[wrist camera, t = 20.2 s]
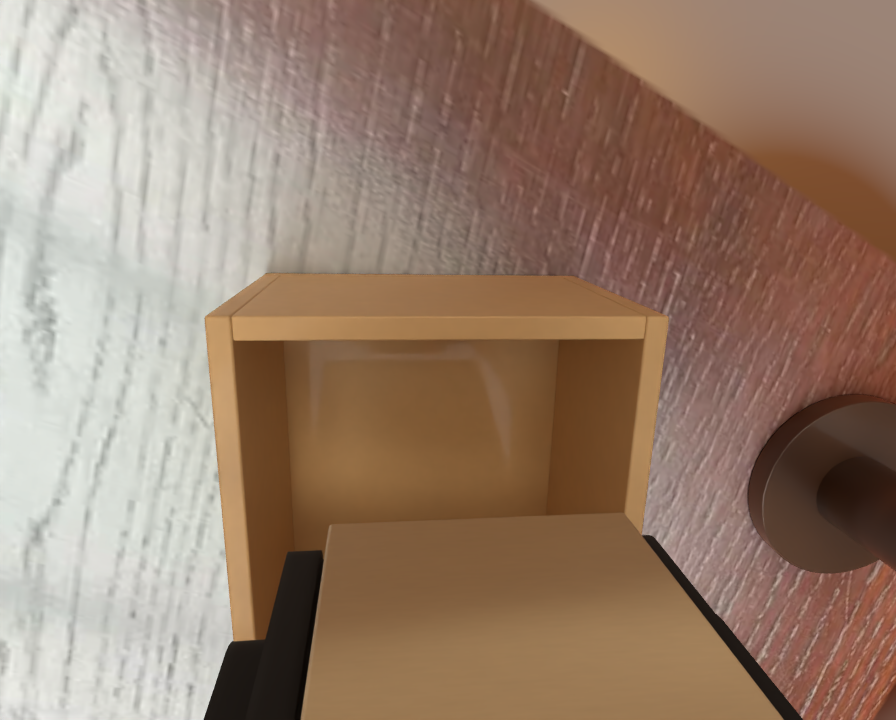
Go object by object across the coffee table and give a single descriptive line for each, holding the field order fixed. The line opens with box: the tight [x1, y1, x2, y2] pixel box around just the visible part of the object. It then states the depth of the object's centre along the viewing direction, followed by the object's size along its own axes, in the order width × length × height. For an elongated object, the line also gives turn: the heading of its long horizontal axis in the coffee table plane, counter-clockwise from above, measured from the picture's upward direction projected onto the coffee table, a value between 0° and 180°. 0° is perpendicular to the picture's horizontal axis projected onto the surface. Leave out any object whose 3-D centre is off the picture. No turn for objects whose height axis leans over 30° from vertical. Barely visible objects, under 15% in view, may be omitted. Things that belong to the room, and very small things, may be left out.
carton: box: [205, 273, 669, 641], centre depth 19 cm, size 13×11×8 cm
